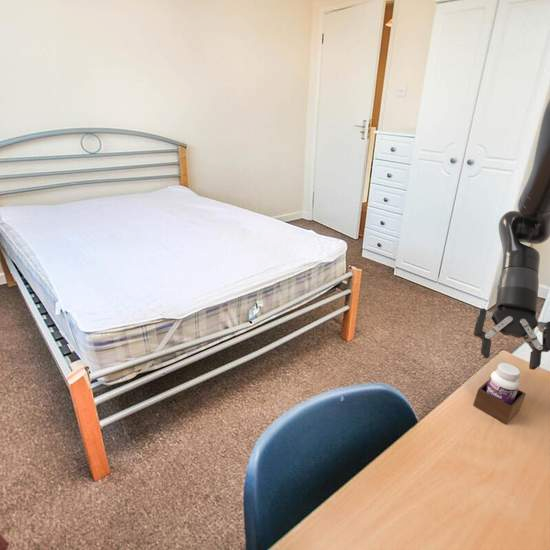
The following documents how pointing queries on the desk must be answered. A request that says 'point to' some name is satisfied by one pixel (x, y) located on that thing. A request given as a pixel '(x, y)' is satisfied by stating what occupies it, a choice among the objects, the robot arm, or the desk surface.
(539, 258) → the robot arm
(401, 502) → the desk surface
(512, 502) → the desk surface
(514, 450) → the desk surface
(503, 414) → the dark brown open bin
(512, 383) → the pill bottle
